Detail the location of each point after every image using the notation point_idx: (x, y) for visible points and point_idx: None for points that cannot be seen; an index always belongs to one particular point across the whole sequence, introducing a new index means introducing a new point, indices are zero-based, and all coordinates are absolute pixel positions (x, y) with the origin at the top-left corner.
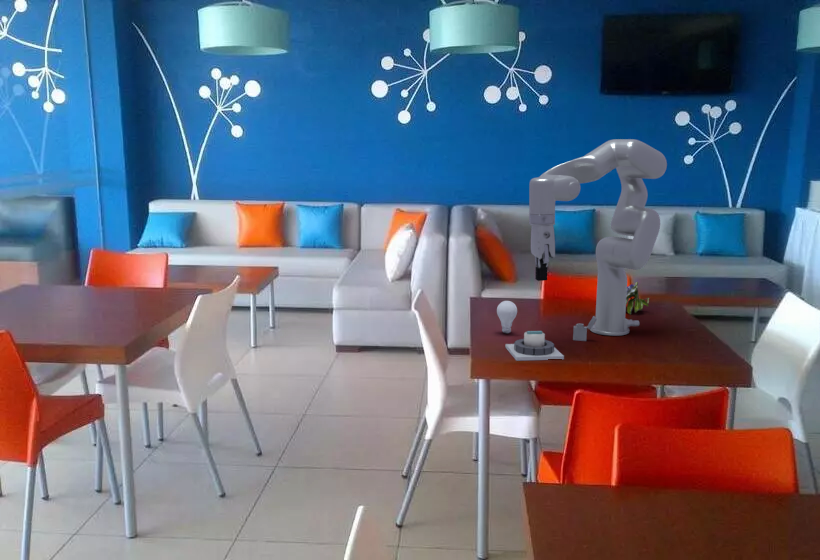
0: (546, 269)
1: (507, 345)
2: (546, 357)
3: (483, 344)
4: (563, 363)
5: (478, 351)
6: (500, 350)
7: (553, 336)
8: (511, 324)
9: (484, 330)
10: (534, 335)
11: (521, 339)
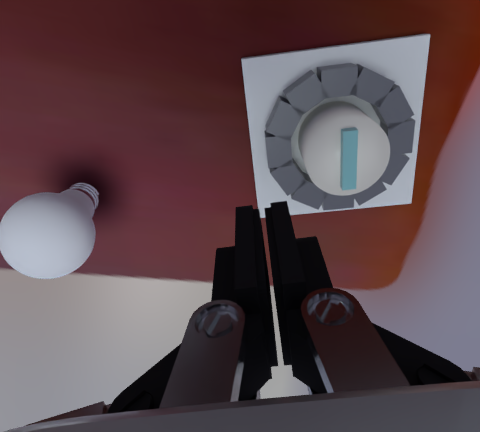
0: (301, 272)
1: None
2: (420, 104)
3: None
4: (472, 44)
5: None
6: None
7: (84, 13)
8: (79, 193)
9: None
10: (375, 162)
11: (281, 181)
